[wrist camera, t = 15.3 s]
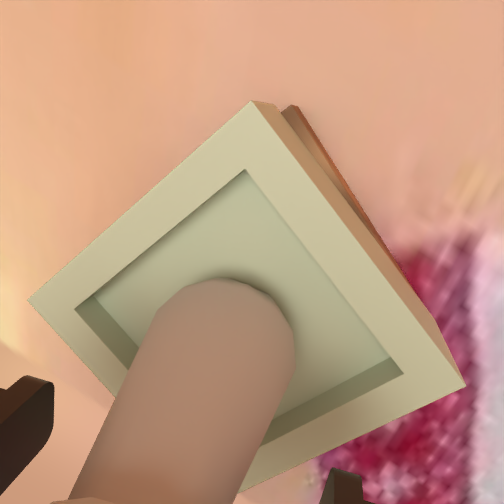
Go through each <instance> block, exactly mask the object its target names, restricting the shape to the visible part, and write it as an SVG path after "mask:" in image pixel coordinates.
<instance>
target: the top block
mask: <svg viewBox="0 0 504 504" xmlns="http://www.w3.org/2000/svg"><path fill="white" fill-rule="evenodd" d="M214 278H231V279H233V280H236V281H238V282H241V283H244V284H248V285H250V286H251V287H253V288H255V289H258V290H260V291H262V292H265V293H267V294H269V295H270V296H271V297H272V299H273V300H274V301H275V303H276V304H277V306H278V307H279V309H280V310H281V312H282V314H283V315H284V317H285V319H286V320H287V322H288V323H289V325H290V327H291V328H292V330H293V338H294V350H295V361H296V370H295V372H294V374H293V376H292V378H291V380H290V382H289V385H288V387H287V389H286V391H285V393H284V395H283V397H282V399H281V402H280V404H279V406H278V408H277V410H276V412H275V414H274V416H273V419H272V421H271V423H270V425H269V427H268V429H267V431H266V433H265V436H264V438H263V440H262V442H261V444H260V446H259V448H258V450H257V453H256V455H255V457H254V459H253V461H252V463H251V465H250V467H249V470H248V472H247V474H246V476H245V478H244V480H243V482H242V484H241V487H240V489H239V491H238V493H240V492H242V491H245V490H247V489H249V488H251V487H253V486H255V485H257V484H259V483H261V482H264V481H266V480H268V479H270V478H272V477H274V476H276V475H278V474H281V473H283V472H285V471H287V470H289V469H291V468H293V467H295V466H298V465H300V464H302V463H304V462H306V461H308V460H310V459H312V458H315V457H317V456H319V455H321V454H323V453H325V452H327V451H329V450H332V449H334V448H336V447H338V446H340V445H342V444H344V443H346V442H349V441H351V440H353V439H355V438H357V437H359V436H361V435H363V434H366V433H368V432H370V431H372V430H374V429H376V428H378V427H380V426H382V425H385V424H387V423H389V422H391V421H393V420H395V419H397V418H399V417H402V416H404V415H406V414H408V413H410V412H412V411H414V410H416V409H419V408H421V407H423V406H425V405H427V404H429V403H431V402H433V401H436V400H438V399H440V398H442V397H444V396H446V395H448V394H450V393H453V392H455V391H457V390H459V389H461V388H463V387H465V386H466V384H465V382H464V380H463V378H462V376H461V374H460V371H459V369H458V367H457V365H456V363H455V361H454V359H453V357H452V355H451V353H450V351H449V349H448V346H447V344H446V342H445V340H444V338H443V336H442V334H441V332H440V330H439V328H438V326H437V324H436V321H435V319H434V318H433V316H432V315H431V314H430V312H429V311H428V310H427V308H426V307H425V306H424V304H423V303H422V302H421V300H420V299H419V298H418V296H417V295H416V294H415V292H414V291H413V290H412V288H411V287H410V286H409V284H408V283H407V282H406V280H405V279H404V278H403V276H402V275H401V274H400V272H399V271H398V270H397V268H396V267H395V265H394V264H393V263H392V261H391V260H390V259H389V257H388V256H387V255H386V253H385V252H384V251H383V249H382V248H381V247H380V245H379V244H378V243H377V241H376V240H375V239H374V237H373V236H372V235H371V233H370V232H369V231H368V229H367V228H366V227H365V225H364V224H363V223H362V221H361V220H360V219H359V217H358V216H357V215H356V213H355V212H354V211H353V209H352V208H351V207H350V205H349V204H348V202H347V201H346V200H345V198H344V197H343V196H342V194H341V193H340V192H339V190H338V189H337V188H336V186H335V185H334V184H333V182H332V181H331V180H330V178H329V177H328V176H327V174H326V173H325V172H324V170H323V169H322V168H321V166H320V165H319V164H318V162H317V161H316V160H315V158H314V157H313V156H312V154H311V153H310V152H309V150H308V149H307V148H306V146H305V145H304V144H303V142H302V141H301V139H300V138H299V137H298V135H297V134H296V133H295V131H294V130H293V129H292V127H291V126H290V125H289V123H288V122H287V121H286V119H285V118H284V117H283V115H282V114H281V113H280V111H279V110H278V109H277V107H276V106H275V105H274V104H268V103H263V102H258V101H252V100H251V101H250V102H249V103H248V104H247V105H245V106H244V107H243V108H242V109H241V110H240V111H239V112H238V113H236V114H235V115H234V116H233V117H232V118H231V119H230V120H229V121H227V122H226V123H225V124H224V125H223V126H222V127H221V128H220V129H218V130H217V131H216V132H215V133H214V134H213V135H212V136H211V137H209V138H208V139H207V140H206V141H205V142H204V143H203V144H202V145H200V146H199V147H198V148H197V149H196V150H195V151H194V152H193V153H192V154H190V155H189V156H188V157H187V158H186V159H185V160H184V161H183V162H181V163H180V164H179V165H178V166H177V167H176V168H175V169H174V170H172V171H171V172H170V173H169V174H168V175H167V176H166V177H165V178H163V179H162V180H161V181H160V182H159V183H158V184H157V185H156V186H154V187H153V188H152V189H151V190H150V191H149V192H148V193H147V194H145V195H144V196H143V197H142V198H141V199H140V200H139V201H138V202H136V203H135V204H134V205H133V206H132V207H131V208H130V209H129V210H127V211H126V212H125V213H124V214H123V215H122V216H121V217H120V218H119V219H117V220H116V221H115V222H114V223H113V224H112V225H111V226H110V227H108V228H107V229H106V230H105V231H104V232H103V233H102V234H101V235H99V236H98V237H97V238H96V239H95V240H94V241H93V242H92V243H90V244H89V245H88V246H87V247H86V248H85V249H84V250H83V251H81V252H80V253H79V254H78V255H77V256H76V257H75V258H74V259H72V260H71V261H70V262H69V263H68V264H67V265H66V266H65V267H63V268H62V269H61V270H60V271H59V272H58V273H57V274H56V275H54V276H53V277H52V278H51V279H50V280H49V281H48V282H47V283H46V284H44V285H43V286H42V287H41V288H40V289H39V290H38V291H37V292H35V293H34V294H33V295H32V296H31V297H30V298H29V299H28V300H27V301H28V302H29V303H30V304H31V305H32V306H33V307H34V309H35V310H36V311H37V312H38V313H39V314H40V315H41V316H42V317H43V318H44V320H45V321H46V322H47V323H48V324H49V325H50V326H51V327H52V328H53V329H54V331H55V332H56V333H57V334H58V335H59V336H60V337H61V338H62V339H63V341H64V342H65V343H66V344H67V345H68V346H69V347H70V348H71V349H72V350H73V352H74V353H75V354H76V355H77V356H78V357H79V358H80V359H81V360H82V361H83V363H84V364H85V365H86V366H87V367H88V368H89V369H90V370H91V371H92V372H93V374H94V375H95V376H96V377H97V378H98V379H99V380H100V381H101V382H102V383H103V385H104V386H105V387H106V388H107V389H108V390H109V391H110V392H111V393H112V395H113V396H114V397H115V398H116V396H117V394H118V392H119V390H120V388H121V386H122V383H123V381H124V379H125V377H126V375H127V373H128V371H129V369H130V367H131V364H132V362H133V360H134V358H135V356H136V354H137V352H138V350H139V347H140V345H141V343H142V341H143V339H144V337H145V335H146V333H147V331H148V328H149V326H150V324H151V322H152V320H153V318H154V316H155V314H156V312H157V310H158V309H159V308H160V307H161V306H162V305H163V304H164V303H166V302H167V301H168V300H169V299H170V298H171V297H172V296H173V295H174V294H176V293H177V292H178V291H179V290H180V289H182V288H183V287H185V286H188V285H191V284H195V283H199V282H203V281H206V280H210V279H214ZM238 493H237V494H238Z"/></svg>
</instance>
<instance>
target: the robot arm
mask: <svg viewBox="0 0 504 504" xmlns="http://www.w3.org/2000/svg"><path fill="white" fill-rule="evenodd" d="M53 423H54V385H53V383H52V382H49V381H45V380H42V379H38V378H35V377H32V376H28V375H27V376H23V377H22V378H20V379H19V380H18V381H17V382H15V383H14V384H13V385H12V386H11V387H9V388H8V389H7V390H5V389H2V388H0V495H1V494H2V493H3V492H4V491H5V490H6V489H7V487H8V486H9V485H10V484H11V483H12V482H13V481H14V480H15V478H16V477H17V476H18V475H19V474H20V473H21V472H22V471H23V470H24V468H25V467H26V466H27V465H28V464H29V463H30V462H31V461H32V459H33V458H34V457H35V456H36V455H37V454H38V452H39V451H40V450H41V449H42V448H43V447H44V445H45V444H46V442H47V441H48V439H49V437H50V435H51V432H52V429H53ZM319 504H375V503H371V502H368V501H365V500H363V488H362V479H361V476H360V475H356V474H353V473H350V472H346V471H343V470H340V469H336V468H333V467H332V468H331V470H330V473H329V476H328V479H327V482H326V485H325V488H324V491H323V494H322V497H321V500H320V503H319Z"/></svg>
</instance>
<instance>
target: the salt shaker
mask: <svg viewBox="0 0 504 504" xmlns="http://www.w3.org/2000/svg"><path fill="white" fill-rule="evenodd" d="M295 370H296V361H295V350H294V338H293V330H292V328H291V327H290V325H289V323H288V322H287V320H286V319H285V317H284V315H283V314H282V312H281V310H280V309H279V307H278V306H277V304H276V303H275V301H274V300H273V299H272V297H271V296H270V295H269V294H267V293H265V292H262V291H260V290H258V289H255V288H253V287H251V286H250V285H248V284H244V283H241V282H238V281H236V280H233V279H231V278H214V279H210V280H206V281H203V282H199V283H195V284H191V285H188V286H185V287H183V288H182V289H180V290H179V291H178V292H177V293H176V294H174V295H173V296H172V297H171V298H170V299H169V300H168V301H167V302H166V303H164V304H163V305H162V306H161V307H160V308H159V309H158V310H157V312H156V314H155V316H154V318H153V320H152V322H151V324H150V326H149V328H148V331H147V333H146V335H145V337H144V339H143V341H142V343H141V345H140V347H139V350H138V352H137V354H136V356H135V358H134V360H133V362H132V364H131V367H130V369H129V371H128V373H127V375H126V377H125V379H124V381H123V383H122V386H121V388H120V390H119V392H118V394H117V396H116V398H115V400H114V402H113V405H112V407H111V409H110V411H109V413H108V415H107V417H106V419H105V421H104V424H103V426H102V428H101V430H100V432H99V434H98V436H97V438H96V441H95V443H94V445H93V447H92V449H91V451H90V453H89V455H88V457H87V460H86V462H85V464H84V466H83V468H82V470H81V472H80V474H79V476H78V479H77V481H76V483H75V485H74V487H73V489H72V491H71V494H70V495H69V498H68V500H64V501H56V502H52V503H50V504H233V501H234V499H235V497H236V495H237V493H238V491H239V489H240V487H241V484H242V482H243V480H244V478H245V476H246V474H247V472H248V470H249V467H250V465H251V463H252V461H253V459H254V457H255V455H256V453H257V450H258V448H259V446H260V444H261V442H262V440H263V438H264V436H265V433H266V431H267V429H268V427H269V425H270V423H271V421H272V419H273V416H274V414H275V412H276V410H277V408H278V406H279V404H280V402H281V399H282V397H283V395H284V393H285V391H286V389H287V387H288V385H289V382H290V380H291V378H292V376H293V374H294V372H295Z"/></svg>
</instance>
